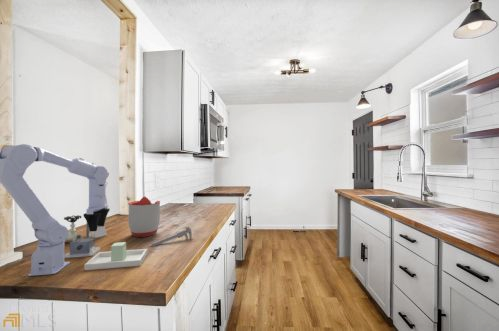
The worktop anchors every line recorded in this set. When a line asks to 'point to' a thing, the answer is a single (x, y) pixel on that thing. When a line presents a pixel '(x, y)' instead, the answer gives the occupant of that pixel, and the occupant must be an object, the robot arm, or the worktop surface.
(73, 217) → the valve
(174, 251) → the worktop surface
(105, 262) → the parts tray
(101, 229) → the twisted vase
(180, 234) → the caliper
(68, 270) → the worktop surface
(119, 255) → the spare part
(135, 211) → the citrus juicer
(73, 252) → the mounted unit
